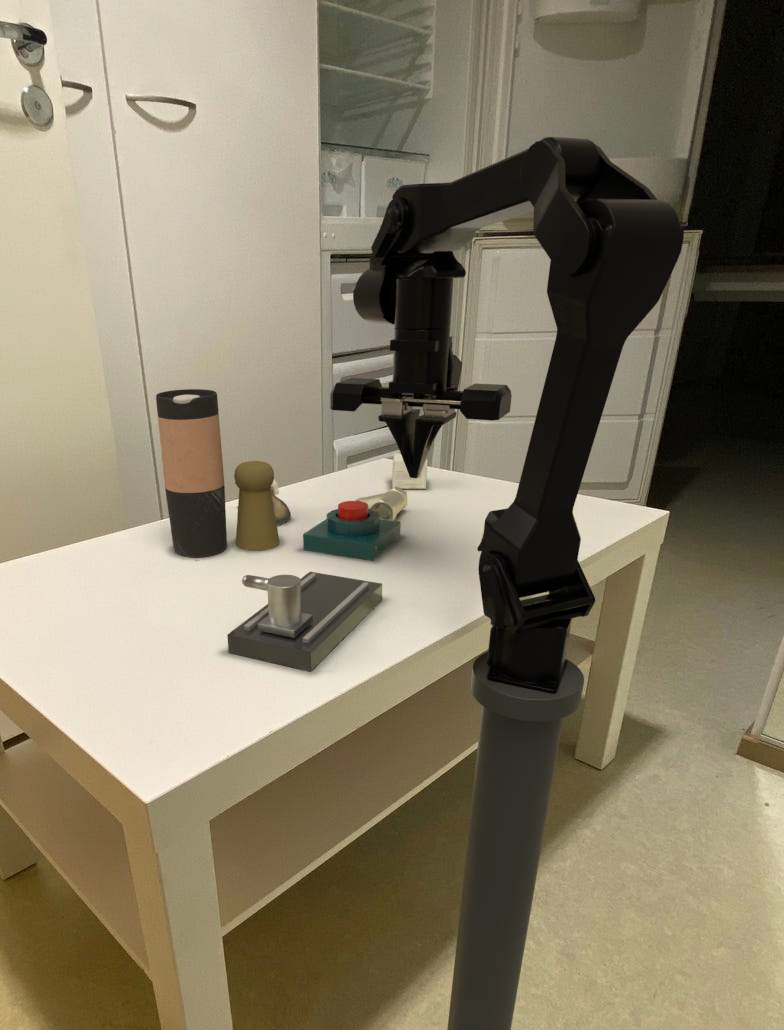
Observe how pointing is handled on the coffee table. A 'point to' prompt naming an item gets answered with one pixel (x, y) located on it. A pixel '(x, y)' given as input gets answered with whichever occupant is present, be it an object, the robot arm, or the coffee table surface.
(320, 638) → the slide rail base
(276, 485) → the eagle figurine
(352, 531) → the button block
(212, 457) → the travel mug
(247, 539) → the brown tapered upright piece
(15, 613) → the coffee table surface
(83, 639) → the coffee table surface
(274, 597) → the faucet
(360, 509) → the button
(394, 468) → the small box
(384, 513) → the pipe fitting
